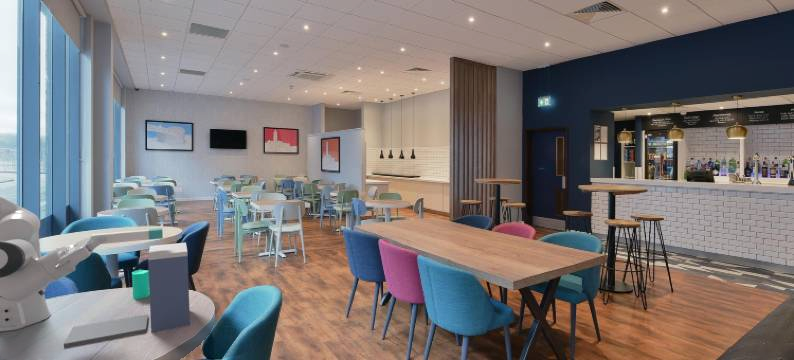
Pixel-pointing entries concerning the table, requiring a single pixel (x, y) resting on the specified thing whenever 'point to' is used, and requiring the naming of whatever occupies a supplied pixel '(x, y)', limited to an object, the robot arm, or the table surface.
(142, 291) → the candle
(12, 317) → the robot arm
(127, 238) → the white and teal box
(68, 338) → the board
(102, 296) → the table surface
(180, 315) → the tall slate-blue pillar
